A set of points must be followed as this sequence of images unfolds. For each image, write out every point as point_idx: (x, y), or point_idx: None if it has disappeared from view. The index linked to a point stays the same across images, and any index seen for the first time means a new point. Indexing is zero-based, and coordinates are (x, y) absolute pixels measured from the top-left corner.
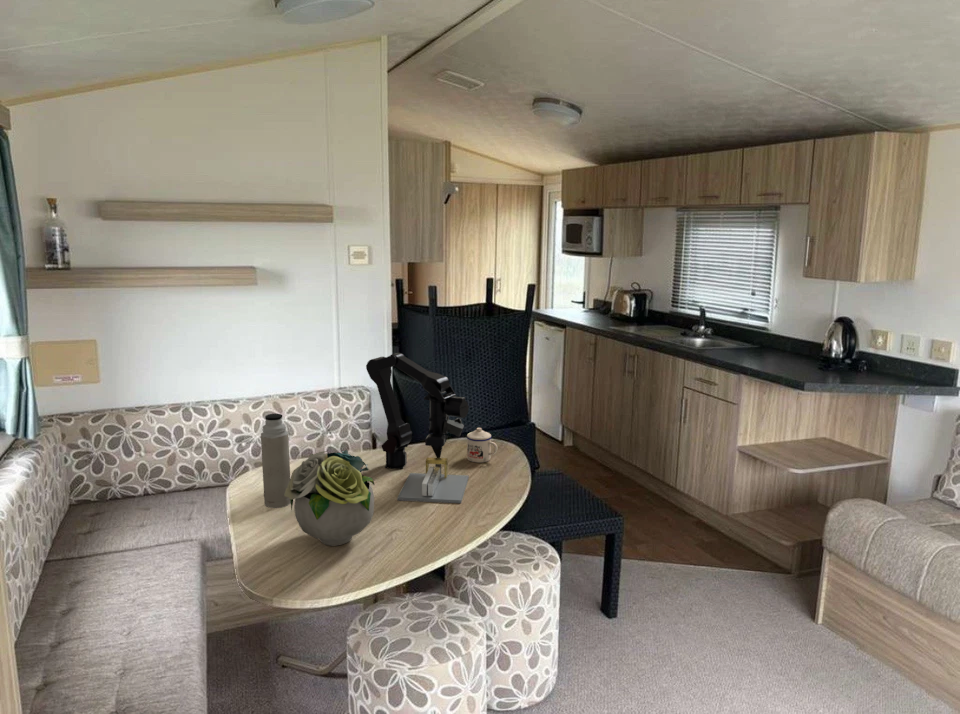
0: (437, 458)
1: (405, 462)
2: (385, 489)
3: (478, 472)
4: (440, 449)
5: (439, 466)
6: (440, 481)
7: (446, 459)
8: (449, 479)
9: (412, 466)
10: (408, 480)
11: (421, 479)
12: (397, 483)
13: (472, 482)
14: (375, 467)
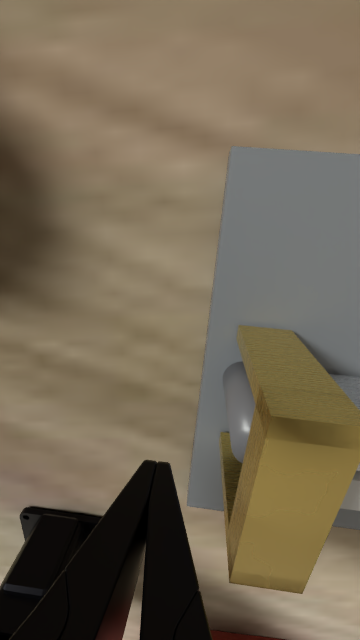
0: (270, 511)
1: (64, 531)
2: (351, 566)
3: (87, 58)
4: (203, 611)
5: None
6: (339, 364)
7: (324, 428)
8: (309, 306)
9: (62, 482)
10: None
11: None
12: None
13: (327, 107)
14: None
